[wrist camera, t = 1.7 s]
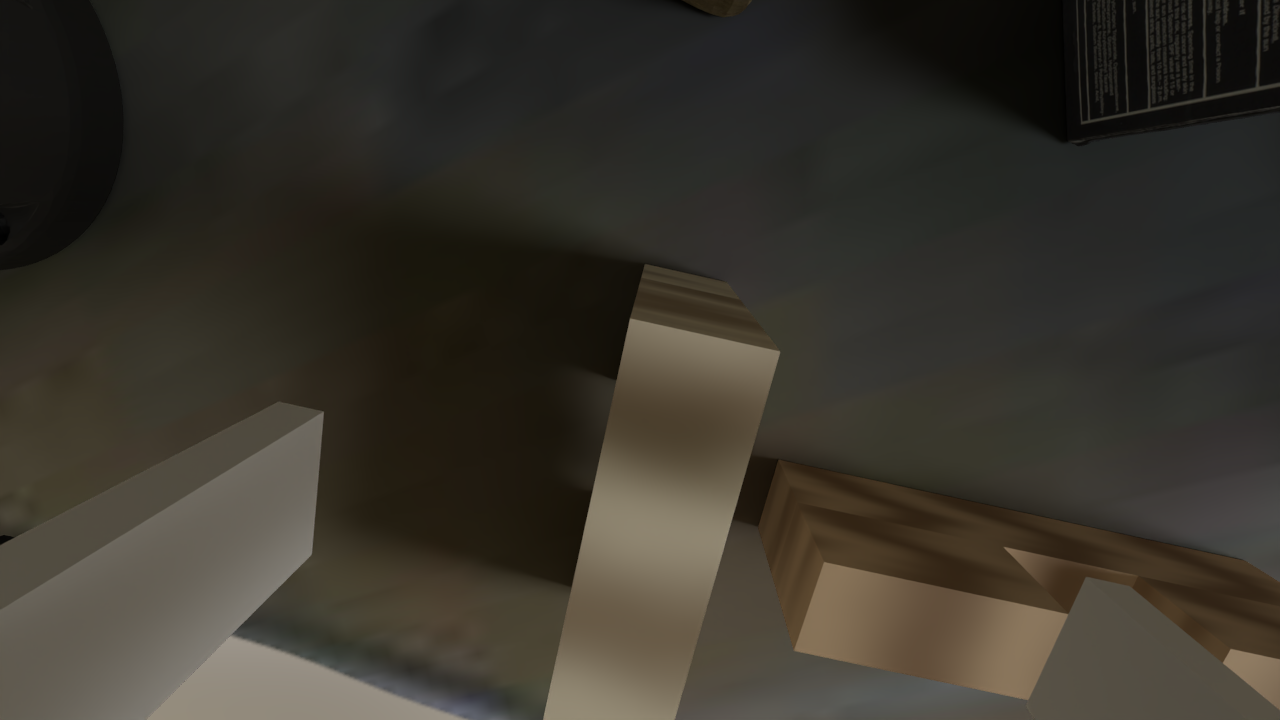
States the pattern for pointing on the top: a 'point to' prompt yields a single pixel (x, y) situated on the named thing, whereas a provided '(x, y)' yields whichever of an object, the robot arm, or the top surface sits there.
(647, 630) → the beige wooden slab
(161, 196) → the top surface
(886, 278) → the top surface
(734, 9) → the stone block
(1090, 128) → the small box
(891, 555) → the oak board
